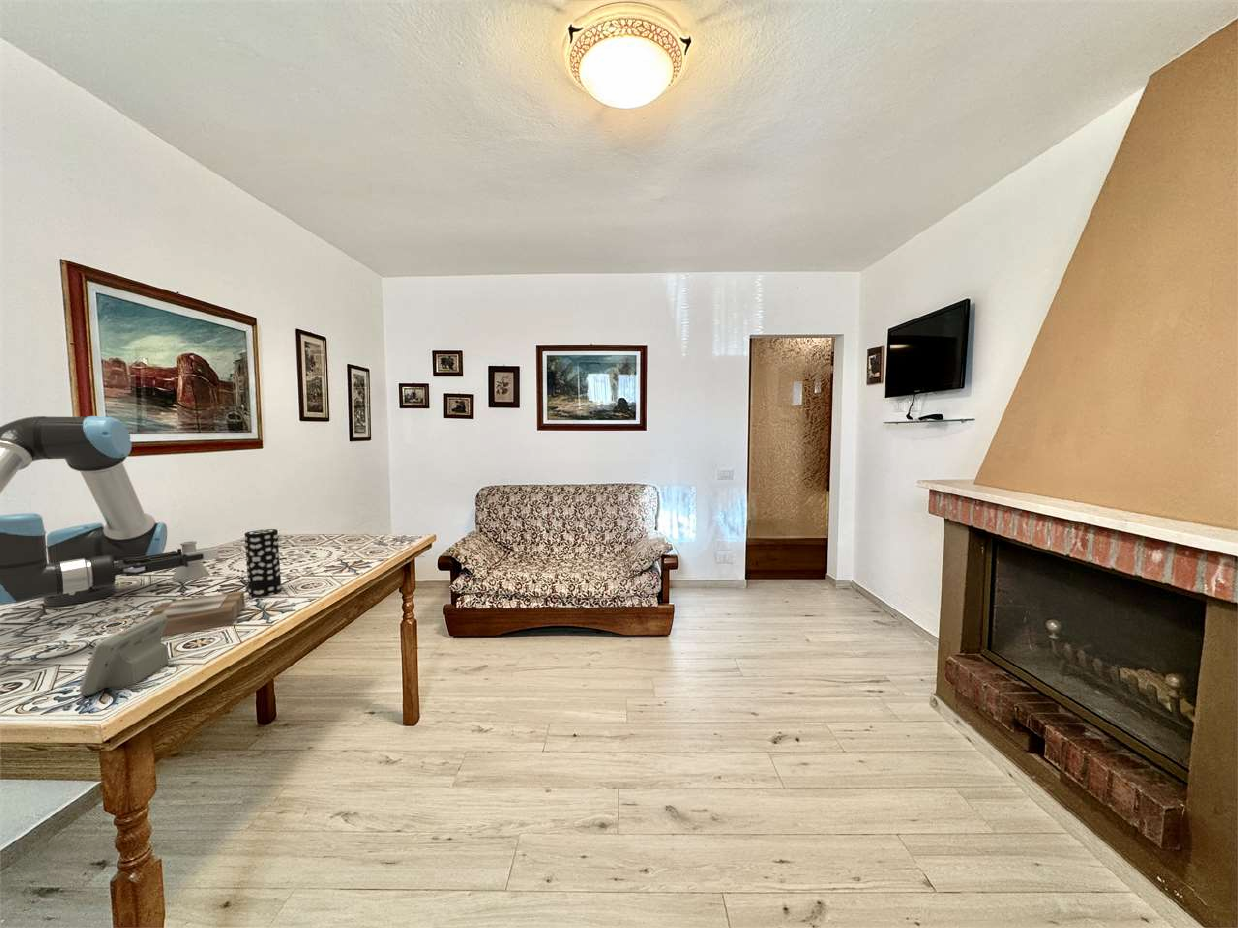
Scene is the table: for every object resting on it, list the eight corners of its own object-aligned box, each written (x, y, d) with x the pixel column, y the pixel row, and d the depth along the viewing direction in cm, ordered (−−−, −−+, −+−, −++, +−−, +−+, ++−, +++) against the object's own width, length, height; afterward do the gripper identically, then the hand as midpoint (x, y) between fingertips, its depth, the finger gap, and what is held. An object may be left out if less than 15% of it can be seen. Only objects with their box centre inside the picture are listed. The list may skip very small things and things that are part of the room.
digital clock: (150, 658, 105) (146, 612, 104) (188, 657, 104) (185, 612, 104) (62, 698, 88) (57, 645, 88) (108, 698, 88) (103, 644, 88)
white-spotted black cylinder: (274, 587, 154) (270, 528, 152) (286, 591, 149) (282, 530, 148) (244, 594, 146) (239, 533, 145) (255, 599, 142) (251, 535, 141)
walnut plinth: (162, 617, 129) (161, 601, 129) (244, 604, 138) (243, 589, 138) (138, 641, 113) (136, 623, 113) (232, 624, 123) (230, 608, 122)
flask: (186, 583, 120) (183, 545, 120) (165, 582, 122) (162, 544, 121) (216, 575, 127) (213, 539, 127) (195, 573, 129) (193, 538, 128)
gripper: (85, 583, 115) (208, 561, 134) (95, 595, 105) (226, 569, 124) (82, 553, 114) (206, 535, 133) (92, 562, 105) (224, 542, 124)
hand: (215, 552), depth 129 cm, fingers closed on flask, 3 cm apart
